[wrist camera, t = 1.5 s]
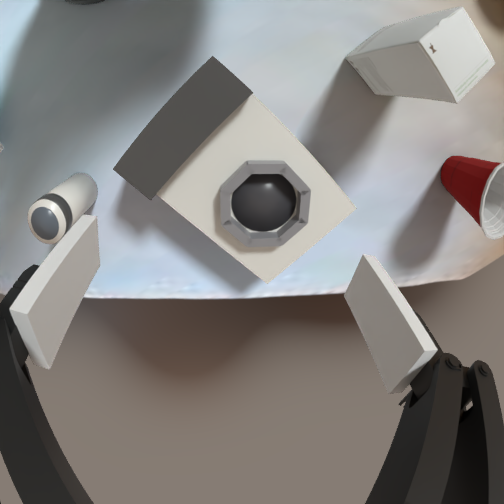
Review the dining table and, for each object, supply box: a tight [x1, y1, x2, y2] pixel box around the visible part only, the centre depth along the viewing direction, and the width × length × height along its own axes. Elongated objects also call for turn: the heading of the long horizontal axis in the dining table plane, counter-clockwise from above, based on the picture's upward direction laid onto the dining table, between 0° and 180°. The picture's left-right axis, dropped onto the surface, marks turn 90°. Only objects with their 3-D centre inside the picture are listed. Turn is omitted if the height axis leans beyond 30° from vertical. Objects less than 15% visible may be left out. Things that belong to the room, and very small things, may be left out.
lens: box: [28, 173, 98, 244], centre depth 29 cm, size 5×5×10 cm
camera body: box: [113, 56, 357, 284], centre depth 31 cm, size 22×14×8 cm, turn 45°
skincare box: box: [346, 7, 495, 104], centre depth 21 cm, size 8×7×16 cm
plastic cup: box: [441, 156, 504, 240], centre depth 31 cm, size 11×11×12 cm
